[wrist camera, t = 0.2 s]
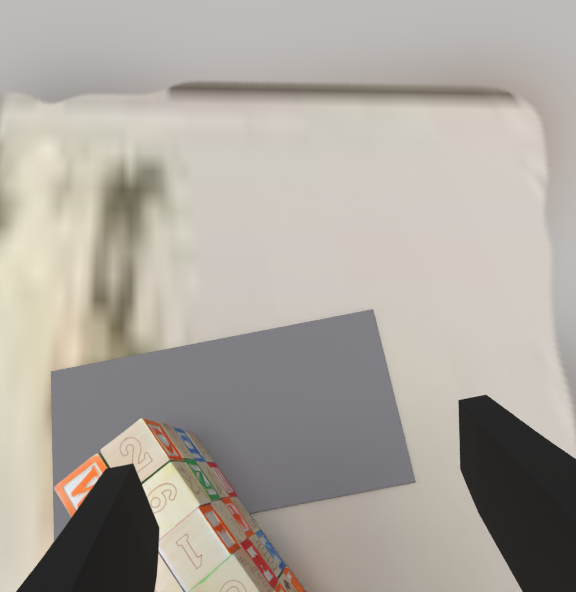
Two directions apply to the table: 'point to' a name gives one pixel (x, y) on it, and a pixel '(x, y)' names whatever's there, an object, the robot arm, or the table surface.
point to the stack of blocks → (188, 513)
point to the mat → (250, 410)
